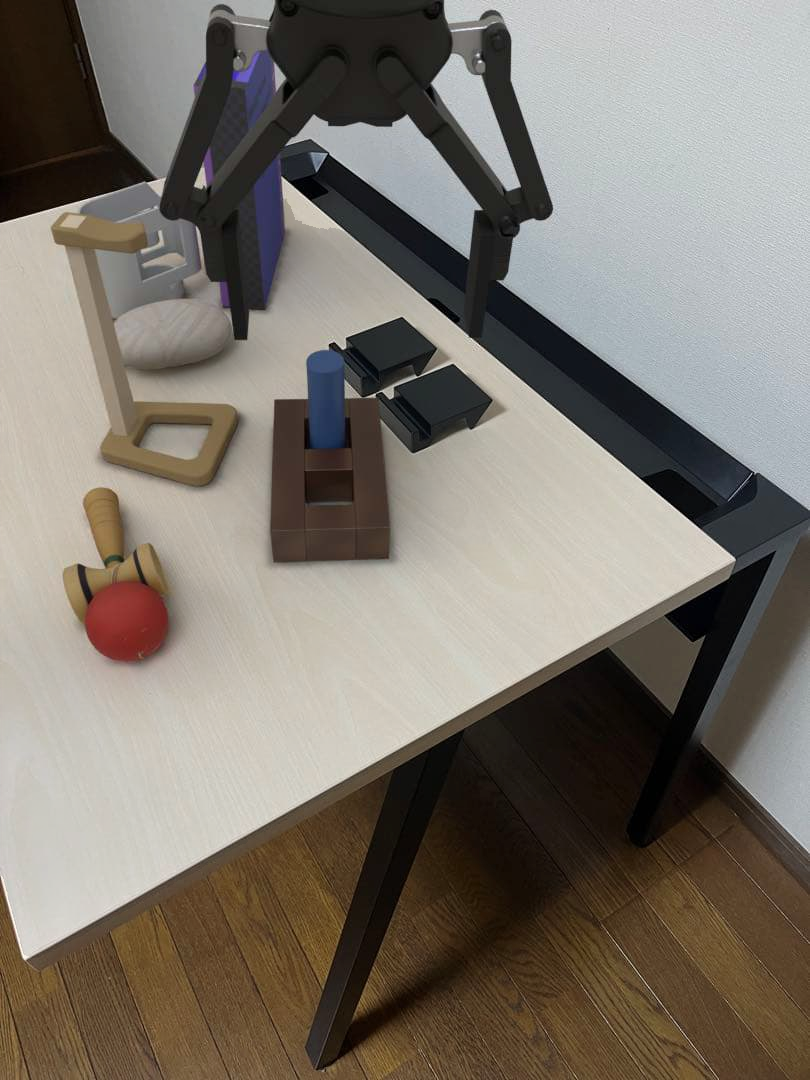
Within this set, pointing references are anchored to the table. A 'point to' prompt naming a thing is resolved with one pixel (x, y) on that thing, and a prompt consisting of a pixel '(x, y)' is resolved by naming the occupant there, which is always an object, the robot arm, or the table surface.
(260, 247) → the cereal box
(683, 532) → the table surface
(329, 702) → the table surface
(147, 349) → the decorative stone
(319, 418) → the peg
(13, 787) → the table surface
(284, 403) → the rack
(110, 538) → the kendama
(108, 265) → the cable organizer
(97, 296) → the headphone stand
